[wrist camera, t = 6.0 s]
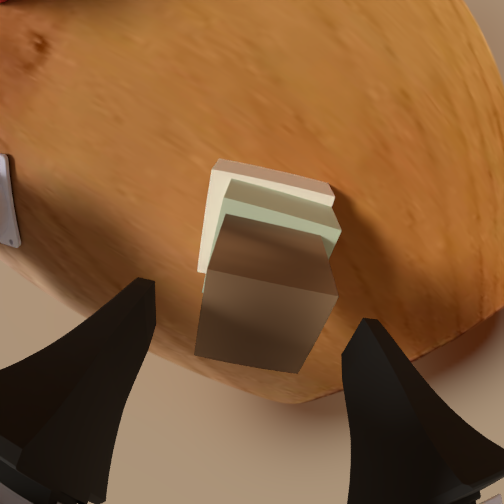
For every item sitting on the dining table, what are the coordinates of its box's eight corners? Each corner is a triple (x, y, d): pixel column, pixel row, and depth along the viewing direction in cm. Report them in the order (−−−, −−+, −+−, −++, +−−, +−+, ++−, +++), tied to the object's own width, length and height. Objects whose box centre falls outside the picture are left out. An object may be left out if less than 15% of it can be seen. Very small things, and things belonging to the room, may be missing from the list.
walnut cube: (211, 290, 14) (194, 355, 10) (225, 213, 12) (207, 268, 8) (292, 307, 14) (297, 373, 11) (320, 235, 12) (338, 296, 9)
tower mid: (210, 263, 16) (202, 292, 14) (231, 178, 14) (223, 197, 12) (297, 285, 17) (300, 316, 15) (331, 206, 14) (341, 230, 12)
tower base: (205, 248, 19) (197, 271, 17) (220, 156, 16) (211, 168, 14) (298, 268, 19) (300, 292, 17) (326, 181, 16) (335, 196, 14)
